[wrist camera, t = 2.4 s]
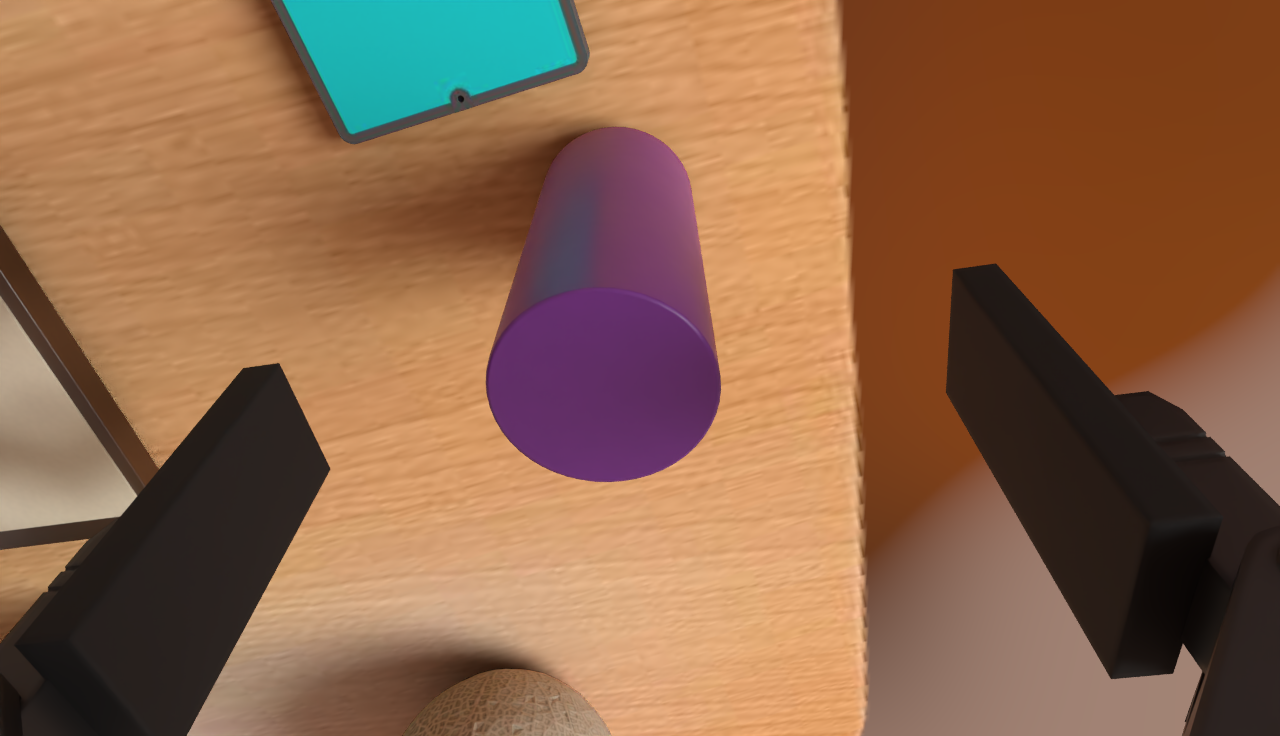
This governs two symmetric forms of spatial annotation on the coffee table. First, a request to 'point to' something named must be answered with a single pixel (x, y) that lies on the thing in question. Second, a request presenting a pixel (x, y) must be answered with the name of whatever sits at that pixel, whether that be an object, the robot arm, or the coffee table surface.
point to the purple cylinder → (608, 317)
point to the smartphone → (427, 55)
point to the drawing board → (56, 425)
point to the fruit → (509, 708)
